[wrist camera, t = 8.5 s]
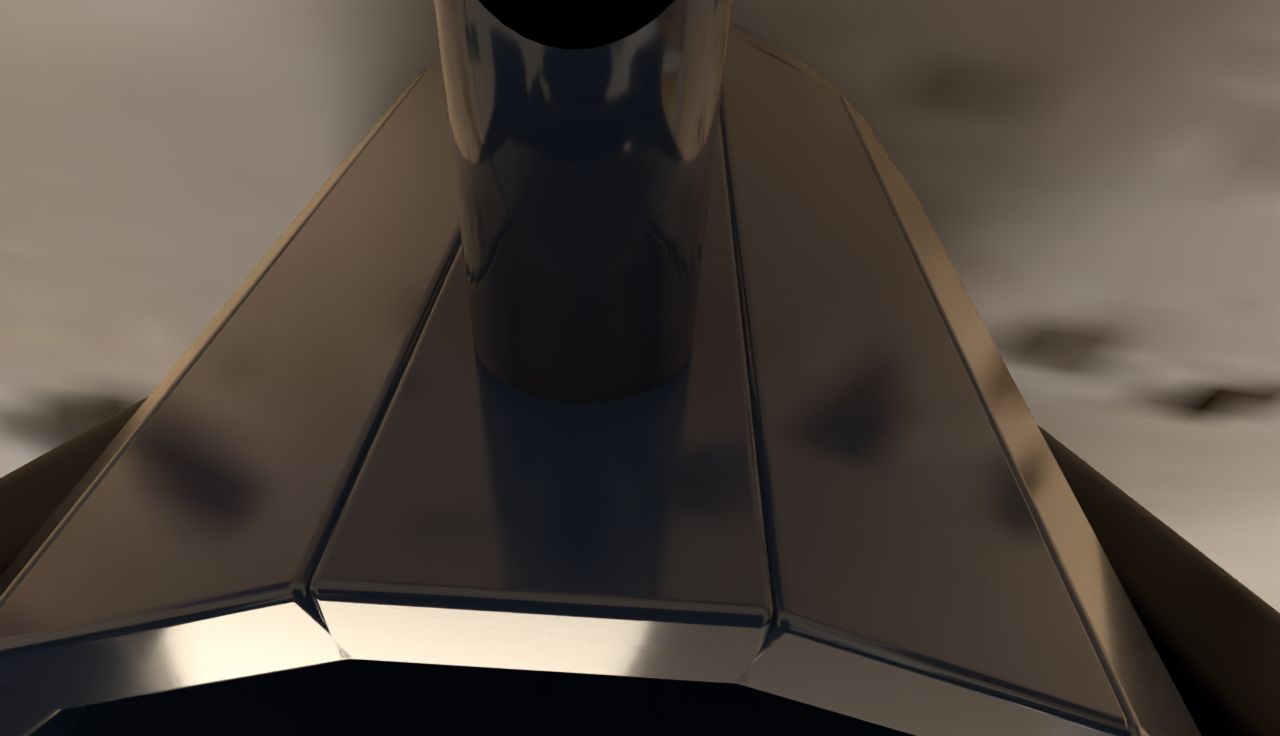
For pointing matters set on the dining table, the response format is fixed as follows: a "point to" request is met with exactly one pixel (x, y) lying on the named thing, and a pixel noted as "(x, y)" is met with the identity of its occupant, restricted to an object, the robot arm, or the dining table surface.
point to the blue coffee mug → (587, 440)
